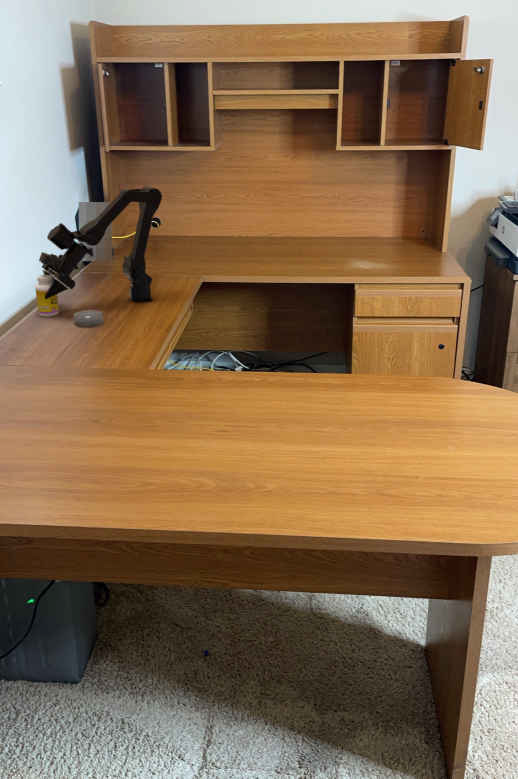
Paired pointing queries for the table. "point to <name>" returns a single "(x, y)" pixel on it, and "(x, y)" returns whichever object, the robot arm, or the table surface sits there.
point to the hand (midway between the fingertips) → (42, 295)
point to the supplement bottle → (45, 305)
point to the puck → (88, 318)
